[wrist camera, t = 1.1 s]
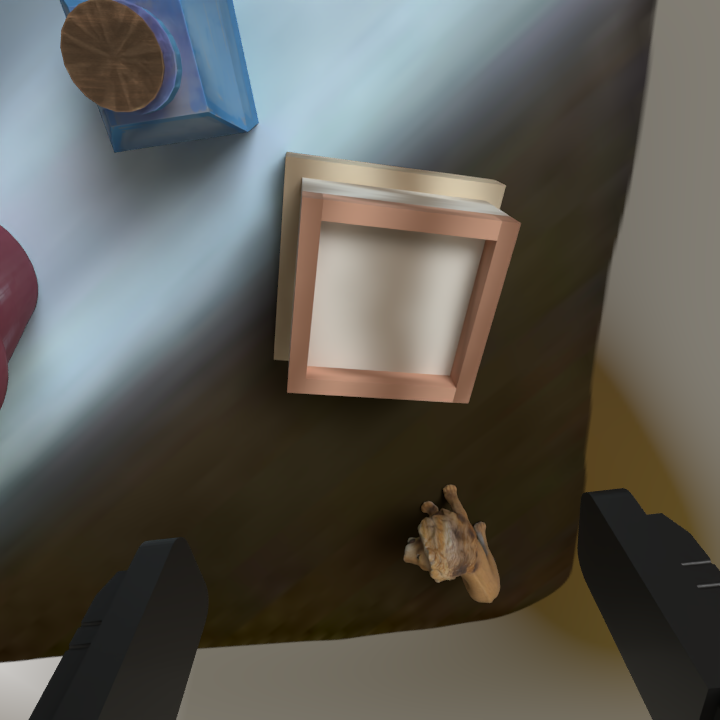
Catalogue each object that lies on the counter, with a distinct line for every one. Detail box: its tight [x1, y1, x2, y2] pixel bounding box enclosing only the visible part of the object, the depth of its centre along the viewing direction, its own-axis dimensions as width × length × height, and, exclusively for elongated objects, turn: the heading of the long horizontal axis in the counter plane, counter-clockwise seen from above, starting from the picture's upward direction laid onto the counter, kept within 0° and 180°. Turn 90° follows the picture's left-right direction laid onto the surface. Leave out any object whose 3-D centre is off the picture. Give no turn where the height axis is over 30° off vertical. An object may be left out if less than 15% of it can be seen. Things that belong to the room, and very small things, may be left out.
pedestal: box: [274, 152, 521, 403], centre depth 30 cm, size 13×13×8 cm
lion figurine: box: [404, 485, 500, 603], centre depth 42 cm, size 15×5×9 cm, turn 39°
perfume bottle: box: [60, 0, 259, 152], centre depth 21 cm, size 6×6×12 cm
